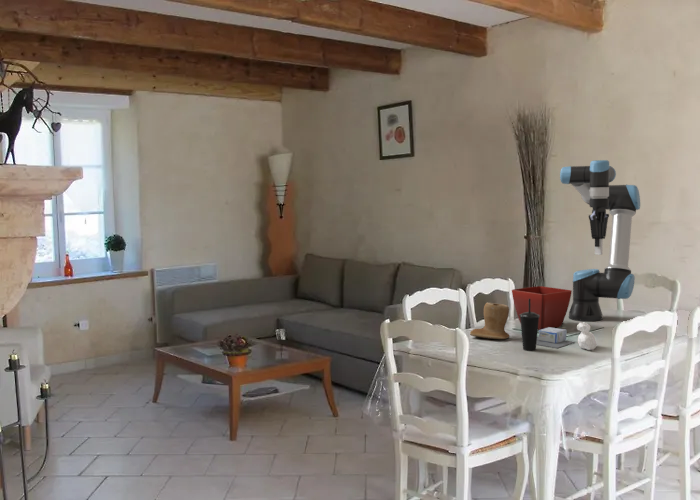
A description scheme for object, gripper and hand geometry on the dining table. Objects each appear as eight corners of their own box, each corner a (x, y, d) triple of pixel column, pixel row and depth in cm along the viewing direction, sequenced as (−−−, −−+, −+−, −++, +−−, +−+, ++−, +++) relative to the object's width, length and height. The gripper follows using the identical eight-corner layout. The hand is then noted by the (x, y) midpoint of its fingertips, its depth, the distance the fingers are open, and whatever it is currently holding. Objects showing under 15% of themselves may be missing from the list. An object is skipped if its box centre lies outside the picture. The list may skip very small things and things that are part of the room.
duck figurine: (589, 350, 275) (571, 326, 278) (605, 340, 272) (587, 316, 274) (583, 357, 265) (564, 332, 267) (599, 346, 261) (581, 322, 264)
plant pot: (539, 320, 324) (539, 285, 322) (572, 327, 308) (572, 290, 307) (510, 326, 314) (510, 289, 312) (543, 333, 298) (543, 294, 296)
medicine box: (549, 337, 288) (538, 340, 282) (549, 326, 288) (538, 330, 282) (566, 339, 282) (555, 343, 276) (566, 329, 282) (555, 332, 276)
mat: (539, 336, 290) (539, 336, 290) (574, 342, 279) (574, 341, 279) (522, 342, 282) (522, 341, 282) (557, 348, 270) (557, 347, 270)
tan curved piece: (513, 336, 292) (513, 301, 291) (503, 342, 282) (503, 306, 281) (480, 333, 300) (480, 299, 299) (469, 338, 290) (469, 303, 289)
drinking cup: (520, 351, 266) (520, 300, 264) (518, 347, 274) (518, 297, 272) (540, 351, 265) (541, 300, 263) (538, 347, 273) (538, 297, 271)
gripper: (598, 197, 293) (597, 252, 295) (582, 198, 284) (582, 255, 286) (615, 197, 287) (614, 253, 289) (599, 198, 278) (599, 256, 281)
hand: (598, 254), depth 288 cm, fingers closed
